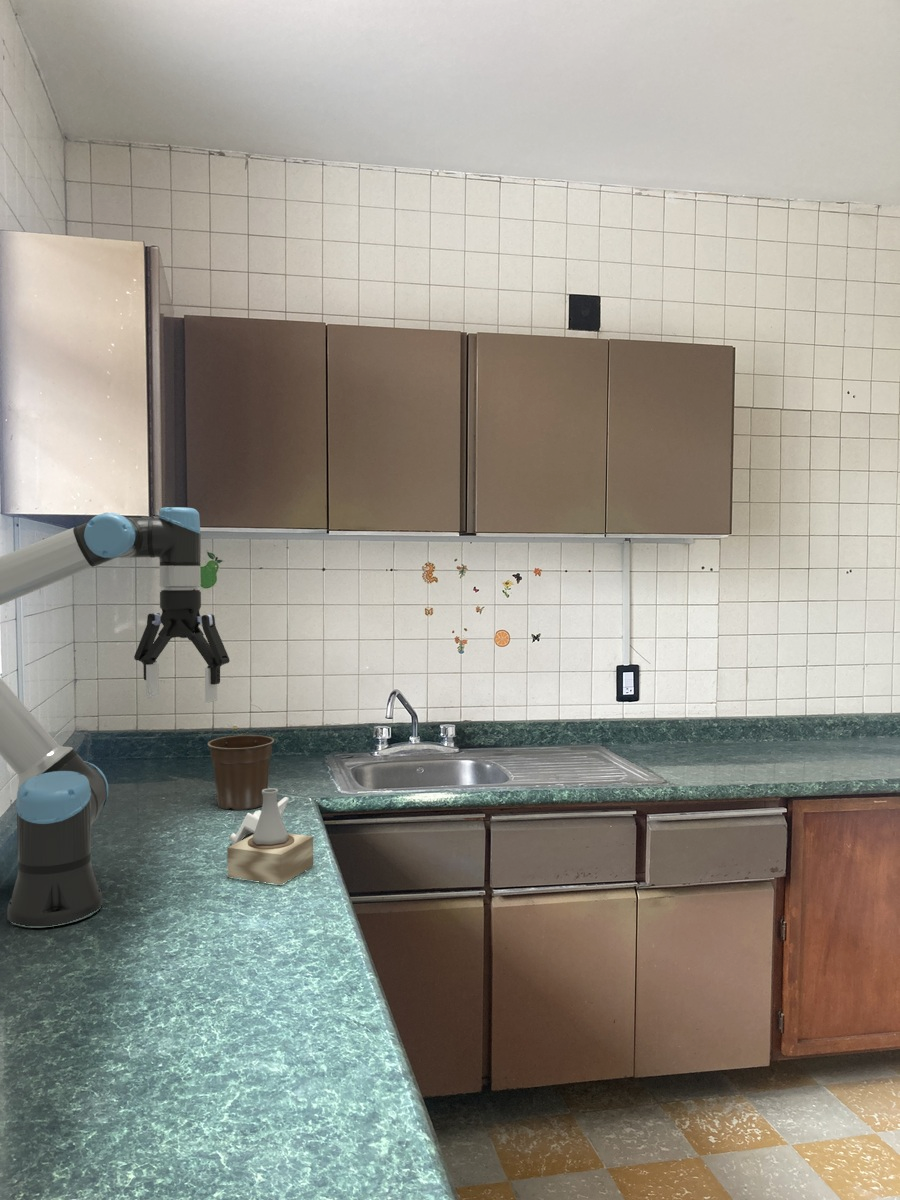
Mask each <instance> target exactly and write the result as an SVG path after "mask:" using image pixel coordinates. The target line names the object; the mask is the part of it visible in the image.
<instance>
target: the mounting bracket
mask: <svg viewBox="0 0 900 1200" xmlns="http://www.w3.org/2000/svg"><path fill="white" fill-rule="evenodd" d="M289 799H290V798H289V797H286V796H284V797H283V798H281V800H279V801H277V803H278V808H279V812H280V815H281V817H282V816H283V813H284V812H285V809H286V807H287V805H288V802H289ZM261 811H262V810H261V809H258V810H255V811H254V813H250V812H247V814H246V815H245V818H244V819H243V821H242V823H241V825H240V826H239V827H238V831H237V832H236V833H234V832H232V833H231V834H230V837H229V839H228V840H229V841H230V842H232V843H231V845H233V844H235V843H237V842H239V841H241V840H242V839H243V838H244V837H245V838H247V837H248V836H249V835H250V834H251V833H253V834H254V832H255V829H256V826H257V823H258V820H259V817H260V814H261ZM249 833H250V834H249ZM248 834H249V835H248ZM245 838H244V839H245Z"/></svg>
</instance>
